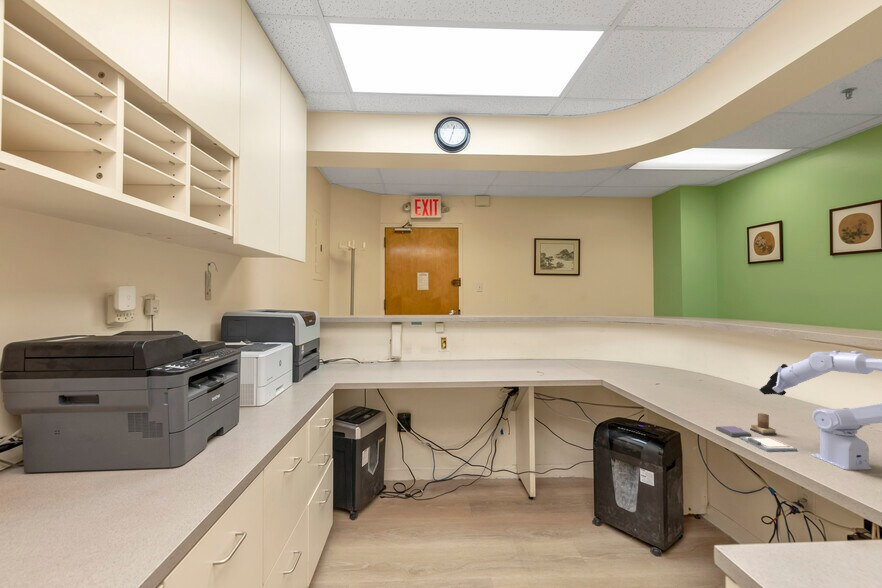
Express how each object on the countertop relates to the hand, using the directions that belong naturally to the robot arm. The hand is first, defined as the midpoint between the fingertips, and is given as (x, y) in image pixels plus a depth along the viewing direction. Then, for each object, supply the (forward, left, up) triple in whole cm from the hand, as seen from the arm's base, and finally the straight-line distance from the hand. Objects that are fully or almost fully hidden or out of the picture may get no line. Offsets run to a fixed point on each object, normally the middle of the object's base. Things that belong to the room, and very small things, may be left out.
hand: (767, 385), depth 131 cm
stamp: (0, +1, -17) cm, 17 cm away
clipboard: (-10, +9, -17) cm, 22 cm away
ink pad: (0, +12, -17) cm, 21 cm away
